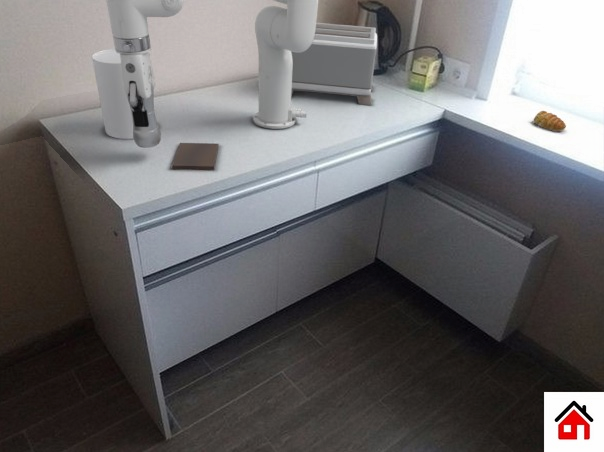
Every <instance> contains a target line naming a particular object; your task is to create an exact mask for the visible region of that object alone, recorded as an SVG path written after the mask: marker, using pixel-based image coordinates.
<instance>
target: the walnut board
mask: <svg viewBox="0 0 604 452" xmlns="http://www.w3.org/2000/svg"><path fill="white" fill-rule="evenodd" d="M219 148H220V147H219V143H213V142H212V143H210V142H207V143H206V142H202V143H201V142H180V143H179V145H178V147H177V150H176V154H175V157H174V159H173V162H172V165H171V167H172V170H188V171H189V170H191V171H192V170H193V171H215V167H216V162H217V158H218V153H219Z"/></svg>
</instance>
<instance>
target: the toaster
mask: <svg viewBox="0 0 604 452" xmlns="http://www.w3.org/2000/svg"><path fill="white" fill-rule="evenodd" d="M376 30H377V29H376V27H370V26H359V25H347V24H335V23H323V22H316V30H315V35H314V39H313V42H312V44H311V46H310V47H309V48H308V49H307V50H306V51H304V52H301V53H296V52H292V51H291V53H292V59H293V70H292V93H291V96H292V95H293V93H294V91H299V92H300V91H301V92H309V93H310V92H311V93H321V94H331V95H339V96H341V95H342V96H352V97H356V98H357V99H356V100H357V103H358V105H365V106H372V103H373V102H372V100H373V99H372V94H371V93H372V92H373V80H374V71H375V65H376V56H377V50H378V49H377V48H378V47H377V46H378V34H377V33H376Z"/></svg>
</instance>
